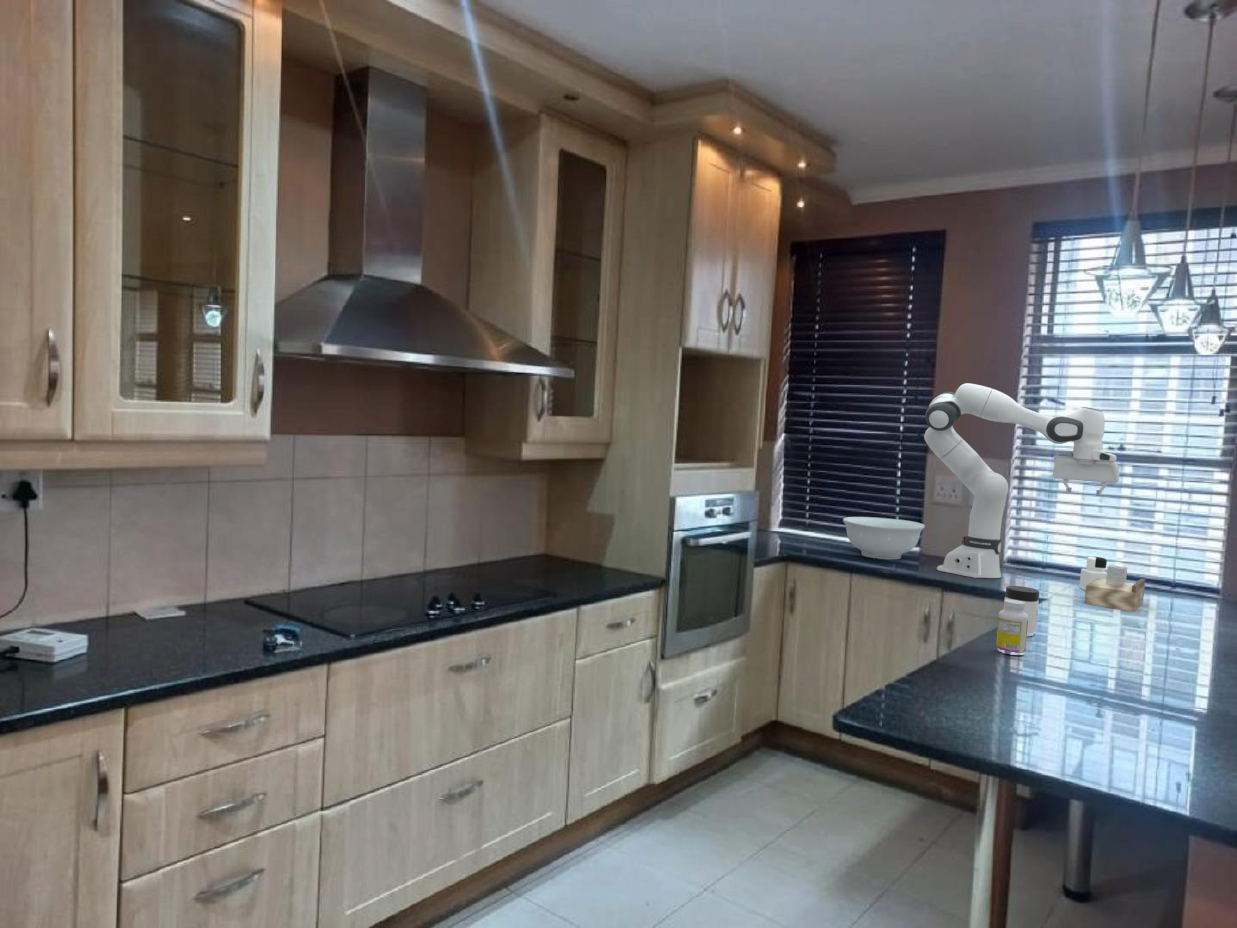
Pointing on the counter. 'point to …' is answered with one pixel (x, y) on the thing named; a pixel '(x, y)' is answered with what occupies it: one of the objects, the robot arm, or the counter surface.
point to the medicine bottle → (1093, 571)
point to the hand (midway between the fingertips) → (1083, 494)
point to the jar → (1026, 603)
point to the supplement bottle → (1012, 627)
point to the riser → (1115, 594)
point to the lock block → (1116, 576)
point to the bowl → (882, 536)
